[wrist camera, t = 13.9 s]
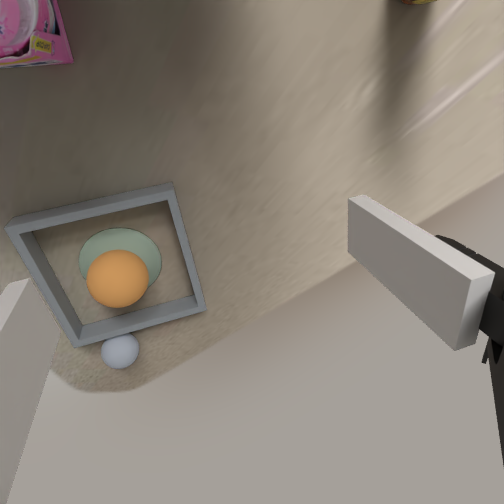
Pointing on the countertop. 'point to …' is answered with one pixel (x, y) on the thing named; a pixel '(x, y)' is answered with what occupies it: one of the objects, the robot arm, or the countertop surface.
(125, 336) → the grey ball
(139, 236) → the pad
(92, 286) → the ball
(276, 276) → the countertop surface
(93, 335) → the corral
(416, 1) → the sauce bottle
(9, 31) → the gum box
